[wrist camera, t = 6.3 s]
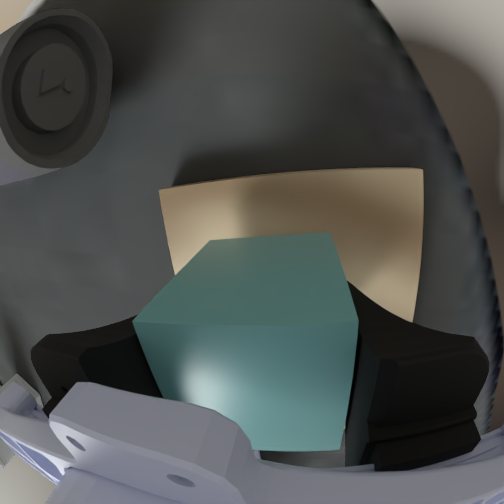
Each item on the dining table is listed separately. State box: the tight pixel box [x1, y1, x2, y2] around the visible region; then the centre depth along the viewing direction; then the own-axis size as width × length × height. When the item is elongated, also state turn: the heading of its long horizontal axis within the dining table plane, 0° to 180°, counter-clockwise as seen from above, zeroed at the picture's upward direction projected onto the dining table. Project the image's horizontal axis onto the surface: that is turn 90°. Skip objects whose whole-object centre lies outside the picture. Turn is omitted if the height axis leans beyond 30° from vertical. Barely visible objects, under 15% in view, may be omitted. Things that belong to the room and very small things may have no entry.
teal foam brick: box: [132, 232, 359, 451], centre depth 10 cm, size 5×5×7 cm
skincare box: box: [0, 373, 44, 468], centre depth 23 cm, size 8×6×15 cm
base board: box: [159, 168, 424, 429], centre depth 16 cm, size 18×13×2 cm
